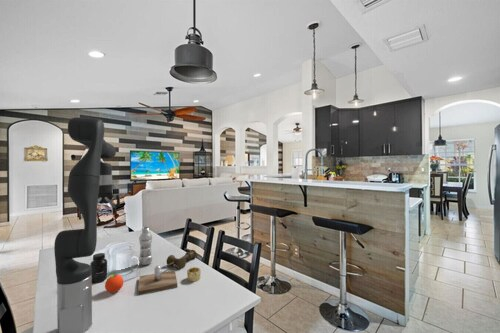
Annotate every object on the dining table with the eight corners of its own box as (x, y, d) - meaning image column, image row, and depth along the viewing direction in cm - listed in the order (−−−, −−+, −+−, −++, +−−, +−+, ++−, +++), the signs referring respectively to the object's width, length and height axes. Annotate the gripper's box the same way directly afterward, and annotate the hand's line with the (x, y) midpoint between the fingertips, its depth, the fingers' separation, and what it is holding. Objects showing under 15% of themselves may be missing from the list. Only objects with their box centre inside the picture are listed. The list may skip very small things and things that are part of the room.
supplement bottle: (98, 284, 106) (98, 258, 105) (86, 282, 107) (86, 257, 107) (110, 277, 112) (110, 252, 112) (98, 275, 114) (98, 251, 113)
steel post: (161, 280, 106) (161, 266, 106) (154, 282, 105) (154, 267, 105) (161, 277, 109) (161, 264, 108) (154, 278, 107) (154, 265, 107)
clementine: (98, 295, 97) (98, 278, 97) (110, 286, 104) (110, 270, 104) (115, 296, 96) (115, 279, 96) (127, 287, 103) (127, 271, 102)
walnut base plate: (177, 287, 103) (177, 283, 103) (137, 294, 97) (137, 291, 97) (174, 273, 116) (174, 270, 116) (139, 279, 110) (139, 276, 110)
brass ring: (201, 280, 109) (201, 271, 109) (188, 282, 107) (188, 274, 107) (199, 274, 115) (199, 266, 115) (186, 276, 112) (186, 268, 112)
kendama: (200, 260, 133) (173, 273, 116) (187, 257, 138) (160, 270, 120) (200, 249, 133) (173, 261, 116) (187, 247, 138) (160, 258, 120)
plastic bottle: (139, 262, 128) (139, 227, 128) (152, 260, 131) (152, 225, 130) (138, 267, 122) (138, 230, 122) (152, 265, 125) (151, 228, 124)
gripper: (85, 184, 112) (85, 218, 112) (118, 183, 117) (119, 215, 117) (89, 183, 119) (89, 215, 119) (120, 182, 124) (120, 212, 124)
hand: (104, 215), depth 118 cm, fingers open, 8 cm apart
